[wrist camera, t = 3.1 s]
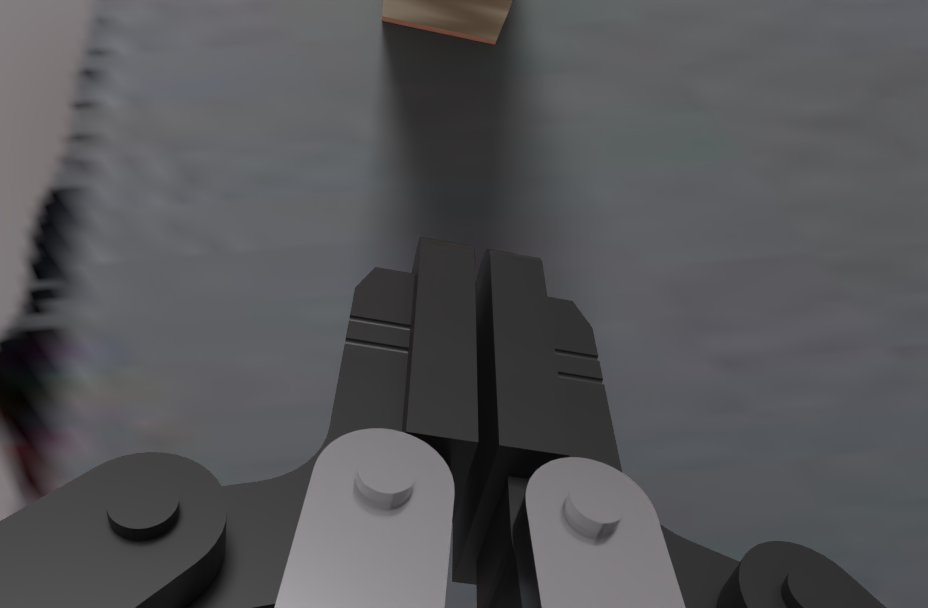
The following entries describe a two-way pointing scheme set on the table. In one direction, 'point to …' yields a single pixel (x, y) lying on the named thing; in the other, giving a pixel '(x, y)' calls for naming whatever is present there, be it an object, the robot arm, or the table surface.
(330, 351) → the table surface
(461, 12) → the tall block
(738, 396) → the table surface
